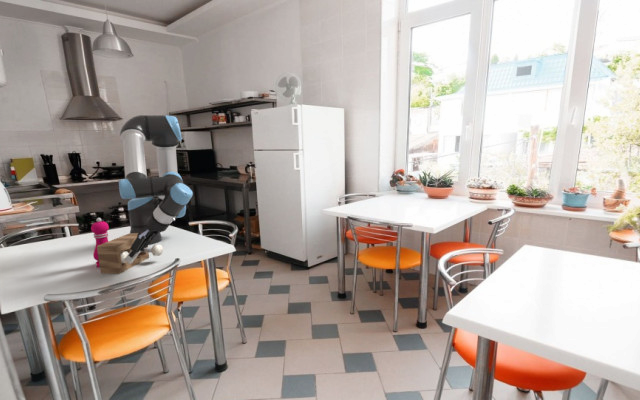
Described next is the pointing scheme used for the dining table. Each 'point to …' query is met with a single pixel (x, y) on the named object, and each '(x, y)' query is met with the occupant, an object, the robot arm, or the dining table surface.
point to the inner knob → (155, 250)
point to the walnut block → (118, 254)
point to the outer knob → (124, 256)
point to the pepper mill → (99, 236)
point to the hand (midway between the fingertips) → (128, 261)
